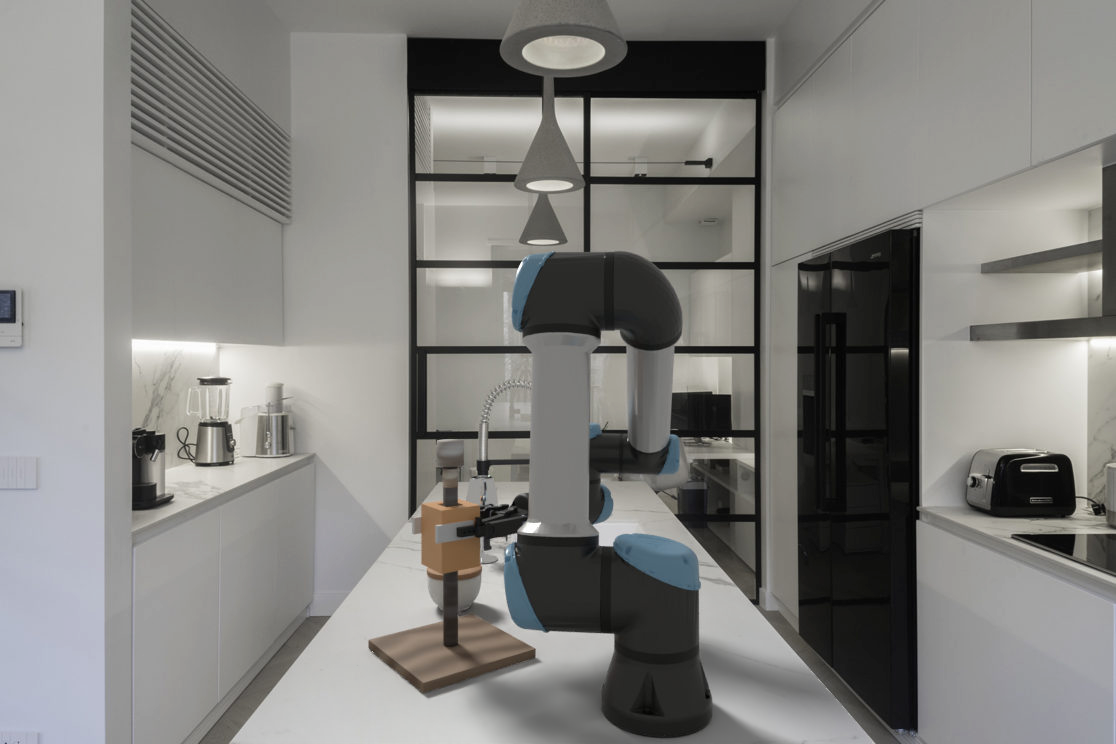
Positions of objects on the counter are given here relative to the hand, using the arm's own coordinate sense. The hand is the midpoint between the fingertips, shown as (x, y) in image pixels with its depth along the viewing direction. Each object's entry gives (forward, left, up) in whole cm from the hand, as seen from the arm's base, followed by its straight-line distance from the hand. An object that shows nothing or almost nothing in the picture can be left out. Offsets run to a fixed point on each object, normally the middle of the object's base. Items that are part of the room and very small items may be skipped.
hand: (424, 529), depth 113 cm
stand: (+1, -5, -21) cm, 22 cm away
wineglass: (+50, -29, -21) cm, 62 cm away
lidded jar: (+22, -13, -21) cm, 33 cm away
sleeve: (+1, -5, -6) cm, 8 cm away
